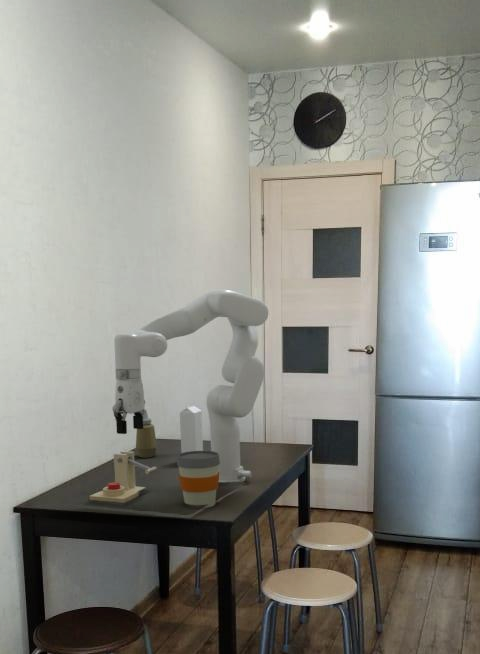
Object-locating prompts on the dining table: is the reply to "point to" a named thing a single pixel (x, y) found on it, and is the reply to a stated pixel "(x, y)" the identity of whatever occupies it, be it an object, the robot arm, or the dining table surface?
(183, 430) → the milk
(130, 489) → the switch bracket
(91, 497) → the control box
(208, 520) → the dining table surface
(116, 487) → the button
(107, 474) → the dining table surface
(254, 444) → the dining table surface
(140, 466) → the switch lever
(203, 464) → the reusable coffee cup
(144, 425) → the squeeze bottle
